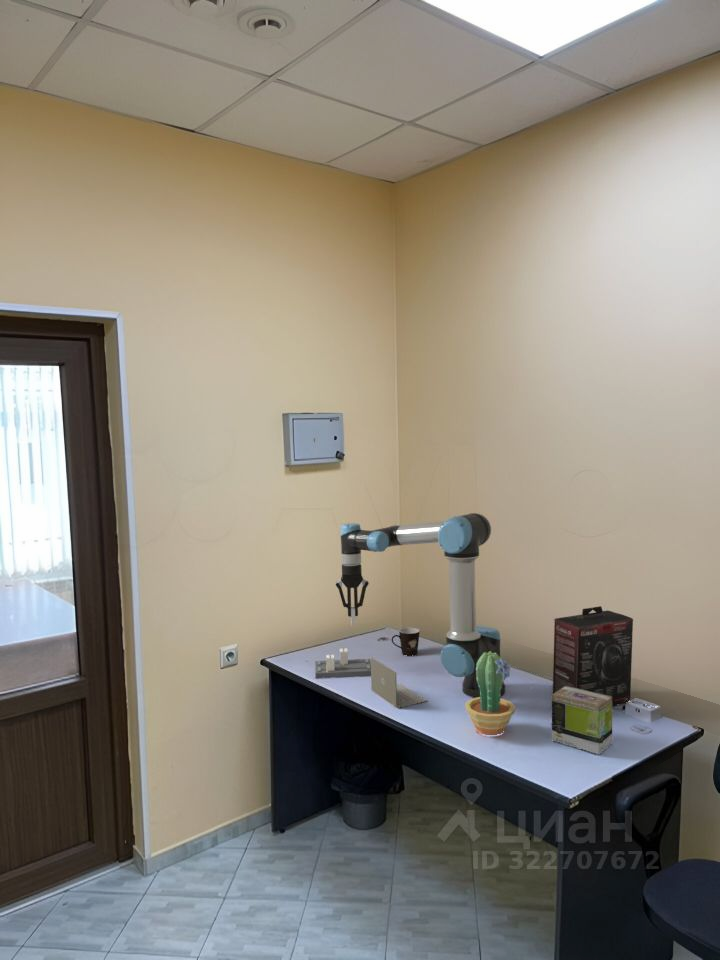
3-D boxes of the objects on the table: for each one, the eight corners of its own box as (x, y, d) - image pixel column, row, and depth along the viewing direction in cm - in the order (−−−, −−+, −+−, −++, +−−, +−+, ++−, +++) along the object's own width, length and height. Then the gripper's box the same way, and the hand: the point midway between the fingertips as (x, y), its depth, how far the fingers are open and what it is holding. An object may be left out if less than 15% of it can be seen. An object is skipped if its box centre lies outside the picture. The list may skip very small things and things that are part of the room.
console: (373, 675, 267) (373, 669, 267) (315, 678, 266) (315, 672, 265) (370, 663, 281) (369, 657, 281) (315, 665, 279) (315, 659, 279)
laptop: (427, 702, 241) (426, 665, 240) (396, 709, 236) (395, 672, 235) (401, 685, 257) (400, 651, 256) (371, 692, 252) (370, 657, 251)
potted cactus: (478, 745, 208) (477, 663, 206) (456, 724, 223) (456, 647, 221) (524, 737, 212) (524, 657, 210) (500, 717, 227) (500, 642, 225)
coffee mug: (420, 650, 296) (419, 627, 295) (419, 657, 287) (419, 633, 286) (392, 650, 297) (392, 627, 296) (391, 657, 288) (391, 633, 287)
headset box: (605, 690, 248) (606, 599, 246) (633, 702, 237) (634, 607, 234) (551, 703, 238) (551, 608, 235) (577, 717, 226) (578, 617, 224)
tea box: (613, 744, 207) (613, 695, 206) (599, 756, 199) (599, 706, 198) (565, 730, 217) (565, 684, 216) (550, 741, 209) (550, 693, 208)
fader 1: (334, 670, 267) (334, 657, 267) (326, 671, 267) (326, 658, 267) (334, 667, 271) (333, 654, 271) (326, 667, 271) (326, 654, 271)
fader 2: (347, 663, 275) (347, 651, 274) (340, 664, 274) (339, 651, 274) (347, 660, 279) (347, 648, 278) (339, 660, 278) (339, 648, 278)
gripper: (367, 561, 271) (369, 621, 272) (334, 562, 270) (335, 622, 272) (369, 565, 263) (370, 626, 265) (334, 566, 262) (336, 628, 264)
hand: (353, 624), depth 268 cm, fingers closed
